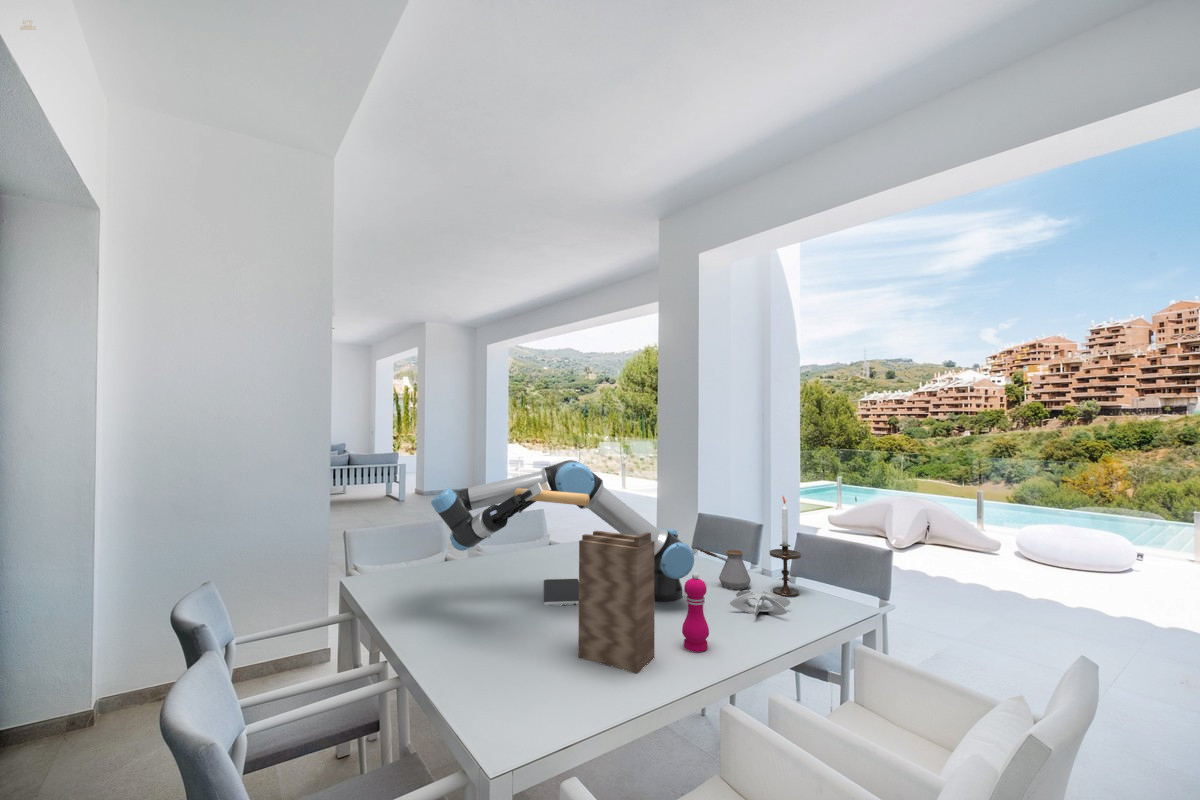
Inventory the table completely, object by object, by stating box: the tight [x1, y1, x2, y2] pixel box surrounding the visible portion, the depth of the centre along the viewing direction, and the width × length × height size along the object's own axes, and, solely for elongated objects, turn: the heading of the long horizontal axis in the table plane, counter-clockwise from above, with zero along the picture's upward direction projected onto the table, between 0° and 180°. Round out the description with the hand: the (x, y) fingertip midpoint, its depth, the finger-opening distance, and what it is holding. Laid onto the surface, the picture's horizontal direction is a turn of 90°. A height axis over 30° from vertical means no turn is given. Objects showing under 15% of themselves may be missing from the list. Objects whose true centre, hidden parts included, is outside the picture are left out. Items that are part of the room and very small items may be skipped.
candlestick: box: [769, 496, 802, 598], centre depth 191 cm, size 11×11×35 cm
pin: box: [514, 488, 590, 506], centre depth 150 cm, size 24×3×3 cm, turn 59°
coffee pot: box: [693, 547, 752, 591], centre depth 198 cm, size 21×12×15 cm, turn 98°
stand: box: [578, 530, 655, 674], centre depth 138 cm, size 17×10×32 cm, turn 59°
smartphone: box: [543, 578, 579, 607], centre depth 190 cm, size 13×27×2 cm, turn 6°
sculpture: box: [729, 590, 792, 616], centre depth 171 cm, size 18×20×6 cm
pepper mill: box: [681, 572, 710, 653], centre depth 144 cm, size 7×7×20 cm
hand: (544, 486), depth 151 cm, fingers closed on pin, 3 cm apart
